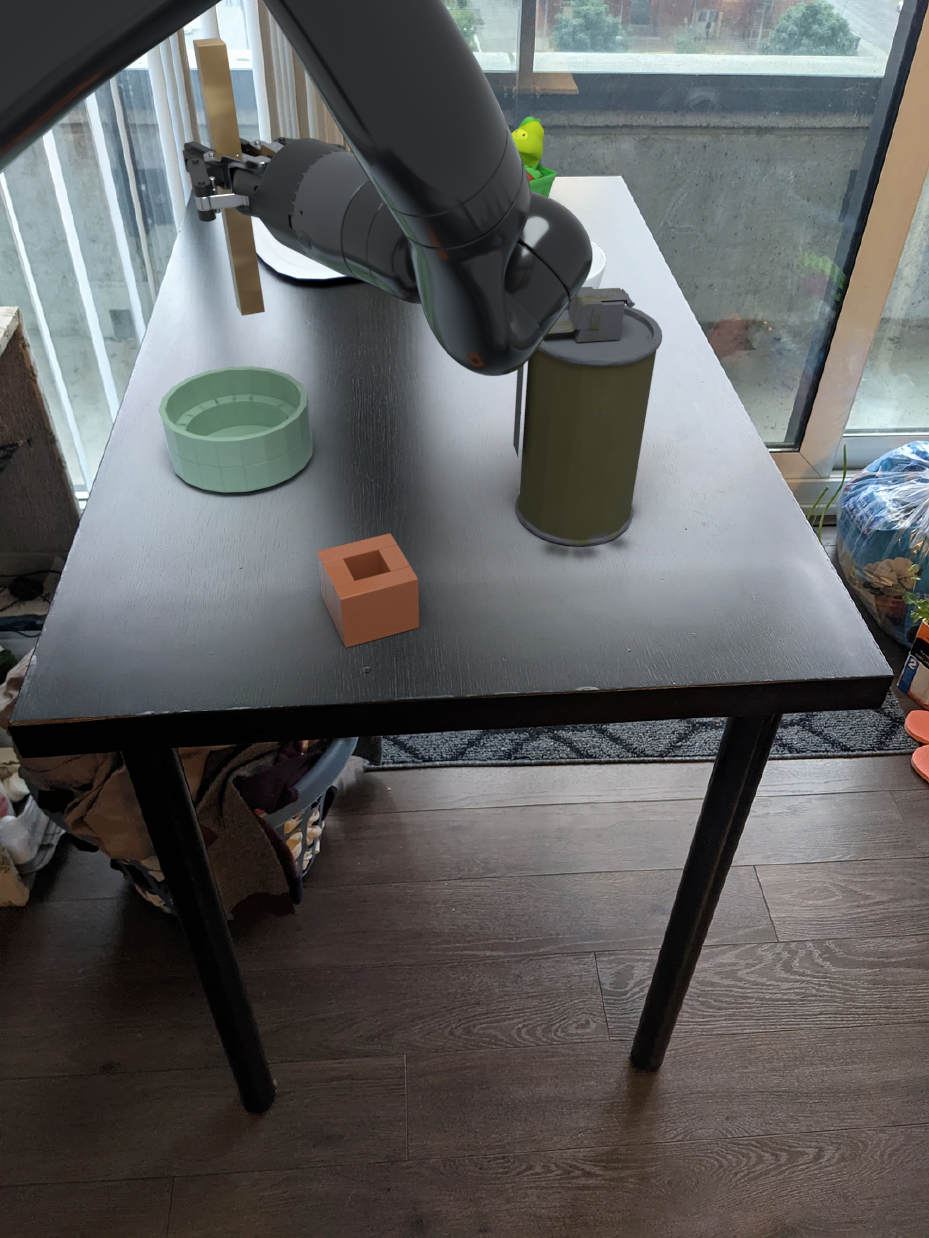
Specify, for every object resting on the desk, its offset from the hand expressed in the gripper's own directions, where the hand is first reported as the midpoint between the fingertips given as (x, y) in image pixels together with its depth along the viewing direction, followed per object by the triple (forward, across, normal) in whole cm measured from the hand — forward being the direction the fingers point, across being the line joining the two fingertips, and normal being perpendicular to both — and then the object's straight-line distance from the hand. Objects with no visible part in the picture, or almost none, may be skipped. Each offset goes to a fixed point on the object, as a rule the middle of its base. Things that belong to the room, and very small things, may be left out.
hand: (207, 152), depth 75 cm
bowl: (+2, -39, +27) cm, 48 cm away
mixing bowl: (-2, +2, +26) cm, 27 cm away
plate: (+33, -36, +27) cm, 56 cm away
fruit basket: (+29, -65, +27) cm, 76 cm away
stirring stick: (-3, 0, +12) cm, 12 cm away
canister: (-28, -14, +27) cm, 42 cm away
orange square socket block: (-27, +7, +26) cm, 38 cm away
